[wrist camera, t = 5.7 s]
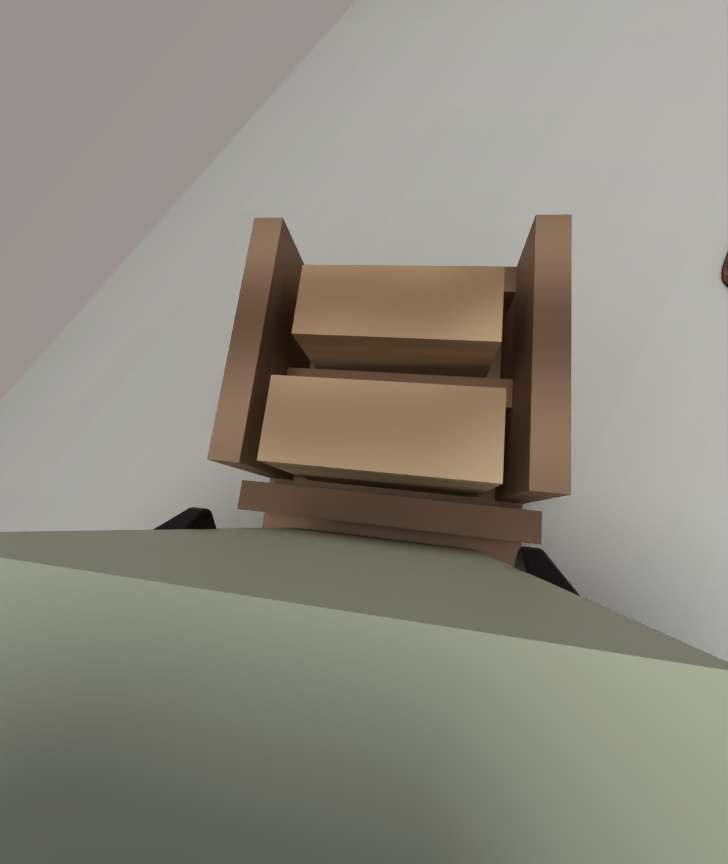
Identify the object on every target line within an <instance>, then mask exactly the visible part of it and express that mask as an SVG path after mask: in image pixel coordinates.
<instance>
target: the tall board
mask: <svg viewBox="0 0 728 864" xmlns="http://www.w3.org/2000/svg"><path fill="white" fill-rule="evenodd" d="M0 864H728V662H726V661H724V660H721V659H719V658H717V657H715V656H712V655H710V654H708V653H706V652H703V651H701V650H699V649H697V648H695V647H692V646H690V645H688V644H686V643H683V642H681V641H679V640H677V639H674V638H672V637H670V636H668V635H665V634H663V633H661V632H659V631H656V630H654V629H652V628H650V627H648V626H645V625H643V624H641V623H639V622H636V621H634V620H632V619H630V618H627V617H625V616H623V615H621V614H618V613H616V612H614V611H612V610H610V609H607V608H605V607H603V606H601V605H598V604H596V603H594V602H592V601H589V600H587V599H585V598H583V597H580V596H578V595H576V594H574V593H571V592H569V591H567V590H565V589H563V588H560V587H558V586H556V585H554V584H551V583H549V582H547V581H545V580H542V579H540V578H538V577H536V576H533V575H531V574H529V573H526V572H524V571H521V570H519V569H517V568H515V567H513V566H511V565H509V564H507V563H504V562H502V561H500V560H498V559H495V558H493V557H491V556H489V555H486V554H484V553H482V552H480V551H478V550H475V549H467V548H458V547H450V546H442V545H434V544H426V543H418V542H409V541H401V540H393V539H385V538H377V537H369V536H361V535H352V534H344V533H336V532H328V531H320V530H312V529H303V528H241V529H175V530H108V531H42V532H0Z"/></svg>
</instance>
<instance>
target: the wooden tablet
mask: <svg viewBox="0 0 728 864" xmlns="http://www.w3.org/2000/svg"><path fill="white" fill-rule="evenodd" d="M723 278H724V281H725V283H726V284H727V285H728V255H727V258H726V261H725V265H724V268H723Z"/></svg>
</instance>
